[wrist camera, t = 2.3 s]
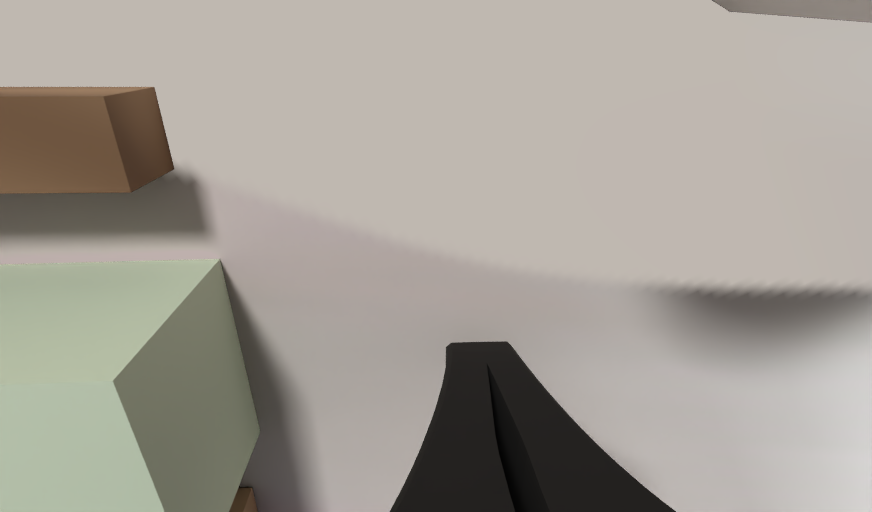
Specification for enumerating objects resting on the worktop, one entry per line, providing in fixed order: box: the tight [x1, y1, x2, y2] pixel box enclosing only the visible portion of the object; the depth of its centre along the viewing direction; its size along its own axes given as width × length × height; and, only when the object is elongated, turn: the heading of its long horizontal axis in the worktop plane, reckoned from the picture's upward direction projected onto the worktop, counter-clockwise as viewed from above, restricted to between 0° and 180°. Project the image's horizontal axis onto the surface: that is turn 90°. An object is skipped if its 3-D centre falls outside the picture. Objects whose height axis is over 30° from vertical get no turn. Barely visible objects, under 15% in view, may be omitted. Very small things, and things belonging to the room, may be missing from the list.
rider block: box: [0, 259, 260, 512], centre depth 9 cm, size 5×5×4 cm
